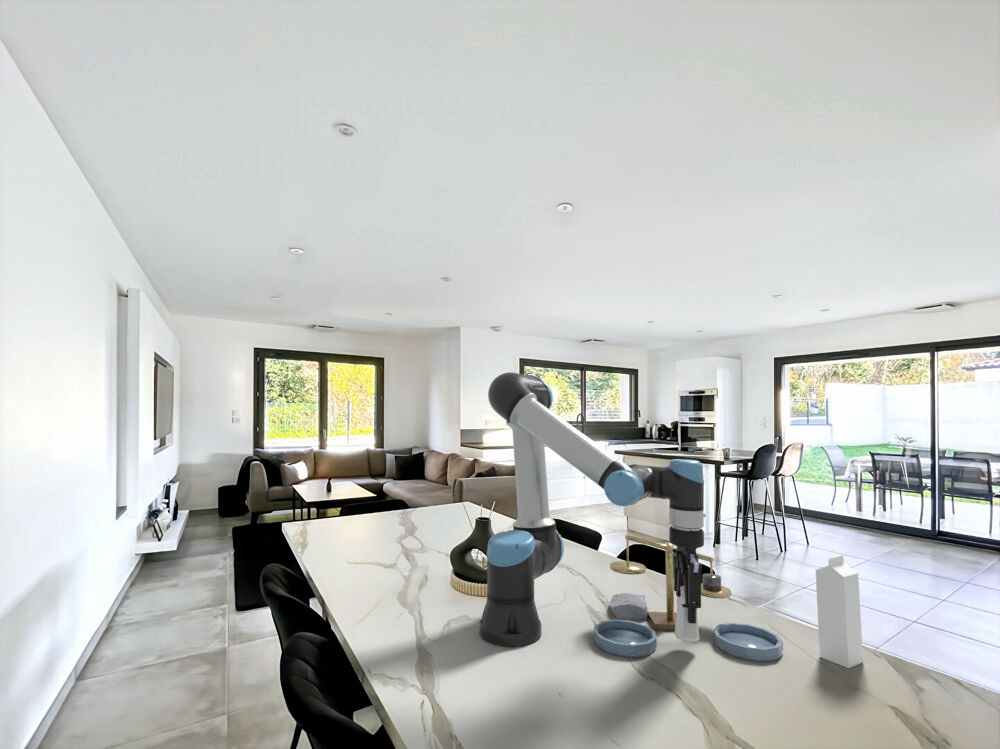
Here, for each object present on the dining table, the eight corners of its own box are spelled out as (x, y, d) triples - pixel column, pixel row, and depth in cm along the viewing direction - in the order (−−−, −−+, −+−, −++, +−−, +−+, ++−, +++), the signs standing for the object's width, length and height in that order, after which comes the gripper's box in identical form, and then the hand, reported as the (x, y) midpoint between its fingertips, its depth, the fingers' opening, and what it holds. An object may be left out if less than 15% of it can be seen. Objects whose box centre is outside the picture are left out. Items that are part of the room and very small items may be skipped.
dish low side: (705, 647, 116) (705, 635, 116) (726, 629, 126) (726, 618, 126) (772, 668, 106) (771, 655, 106) (789, 646, 116) (788, 634, 117)
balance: (614, 630, 125) (613, 538, 127) (608, 616, 134) (607, 530, 136) (738, 633, 123) (735, 540, 125) (724, 618, 132) (721, 532, 134)
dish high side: (582, 643, 117) (582, 632, 117) (613, 626, 127) (613, 615, 127) (638, 663, 108) (637, 651, 108) (666, 642, 118) (666, 631, 118)
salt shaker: (697, 644, 110) (696, 593, 111) (671, 638, 113) (671, 588, 114) (701, 635, 115) (701, 586, 116) (677, 630, 118) (677, 581, 119)
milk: (863, 662, 109) (858, 558, 111) (848, 669, 106) (844, 562, 108) (833, 651, 114) (829, 551, 116) (818, 657, 111) (814, 555, 113)
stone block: (612, 626, 132) (651, 621, 130) (608, 607, 133) (647, 602, 131) (611, 611, 144) (647, 606, 142) (608, 593, 144) (643, 589, 143)
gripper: (717, 536, 107) (718, 650, 106) (690, 520, 125) (691, 617, 123) (681, 535, 108) (682, 648, 106) (659, 518, 125) (659, 616, 123)
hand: (686, 631), depth 114 cm, fingers closed on salt shaker, 4 cm apart
